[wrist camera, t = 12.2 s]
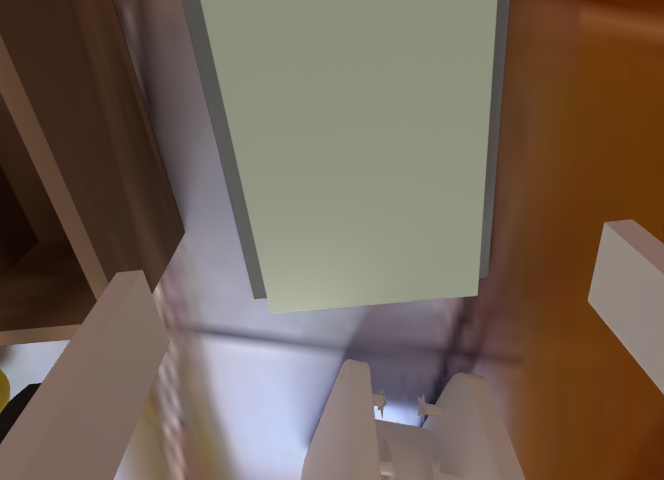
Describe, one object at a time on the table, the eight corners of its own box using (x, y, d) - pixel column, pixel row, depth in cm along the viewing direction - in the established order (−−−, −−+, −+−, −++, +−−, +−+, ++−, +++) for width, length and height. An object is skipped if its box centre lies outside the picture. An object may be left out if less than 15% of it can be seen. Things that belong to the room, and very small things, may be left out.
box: (39, 247, 29) (-69, 351, 21) (-90, -8, 22) (-325, 6, 14) (184, 233, 28) (130, 334, 20) (102, -33, 21) (-29, -32, 13)
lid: (277, 270, 29) (270, 314, 25) (218, -23, 21) (195, -20, 17) (458, 253, 28) (477, 295, 25) (470, -54, 20) (501, -58, 17)
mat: (255, 293, 31) (254, 299, 30) (169, -69, 20) (165, -69, 20) (485, 272, 30) (487, 277, 29) (513, -113, 20) (518, -115, 19)
